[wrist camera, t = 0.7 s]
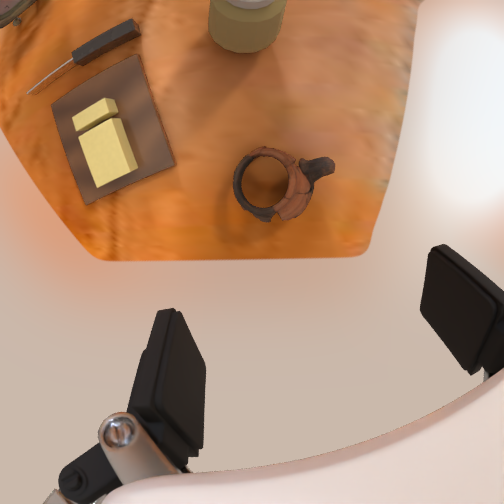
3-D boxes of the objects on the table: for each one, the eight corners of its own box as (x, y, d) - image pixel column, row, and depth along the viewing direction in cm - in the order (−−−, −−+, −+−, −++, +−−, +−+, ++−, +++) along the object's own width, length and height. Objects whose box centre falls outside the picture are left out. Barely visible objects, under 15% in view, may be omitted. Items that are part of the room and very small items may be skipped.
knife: (34, 88, 25) (24, 88, 22) (138, 24, 24) (131, 18, 21) (37, 99, 25) (26, 99, 23) (141, 35, 24) (135, 29, 22)
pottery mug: (270, 231, 38) (247, 238, 31) (241, 172, 38) (212, 165, 31) (350, 192, 33) (347, 188, 26) (316, 130, 33) (303, 110, 26)
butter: (89, 135, 28) (78, 137, 26) (120, 118, 28) (111, 118, 25) (106, 182, 32) (97, 188, 29) (138, 167, 31) (130, 171, 29)
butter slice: (83, 117, 27) (71, 117, 25) (114, 99, 27) (104, 97, 24) (87, 130, 28) (76, 131, 25) (118, 112, 28) (109, 112, 25)
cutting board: (55, 105, 27) (50, 104, 26) (139, 55, 26) (136, 53, 25) (89, 203, 34) (85, 205, 32) (176, 164, 33) (174, 165, 32)
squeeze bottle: (282, 55, 27) (330, -2, 11) (217, 66, 28) (205, 10, 11) (267, 4, 24) (297, -73, 8) (204, 15, 24) (185, -63, 8)
